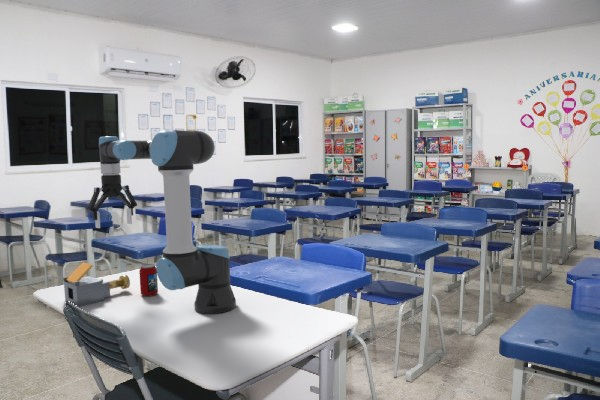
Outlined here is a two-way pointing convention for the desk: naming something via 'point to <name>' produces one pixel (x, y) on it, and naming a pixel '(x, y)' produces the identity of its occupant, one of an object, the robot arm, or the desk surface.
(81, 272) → the plate
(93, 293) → the hitch block
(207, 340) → the desk surface
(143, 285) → the beverage can
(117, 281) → the pin
